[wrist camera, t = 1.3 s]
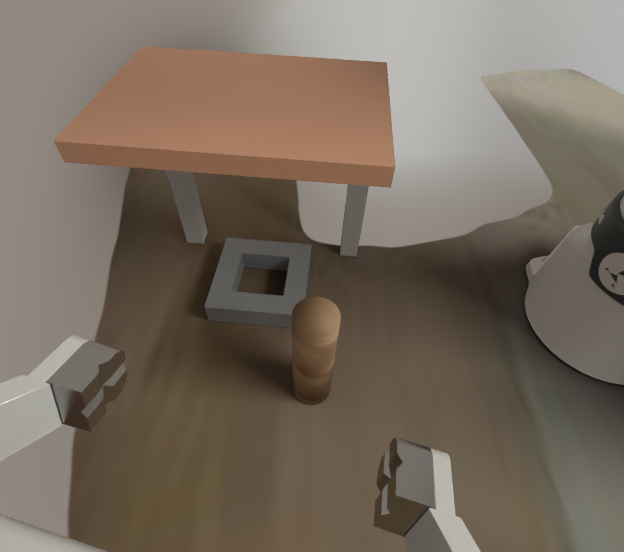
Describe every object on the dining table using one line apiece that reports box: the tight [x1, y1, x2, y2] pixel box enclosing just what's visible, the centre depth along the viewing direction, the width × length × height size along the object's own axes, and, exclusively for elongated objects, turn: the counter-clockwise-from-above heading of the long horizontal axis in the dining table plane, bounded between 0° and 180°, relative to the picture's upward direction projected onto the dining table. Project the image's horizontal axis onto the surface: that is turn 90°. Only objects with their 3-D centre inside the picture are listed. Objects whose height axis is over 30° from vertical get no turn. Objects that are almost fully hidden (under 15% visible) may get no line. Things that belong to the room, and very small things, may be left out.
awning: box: [54, 46, 395, 328], centre depth 37 cm, size 15×21×22 cm
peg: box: [292, 296, 341, 405], centre depth 32 cm, size 4×4×12 cm
